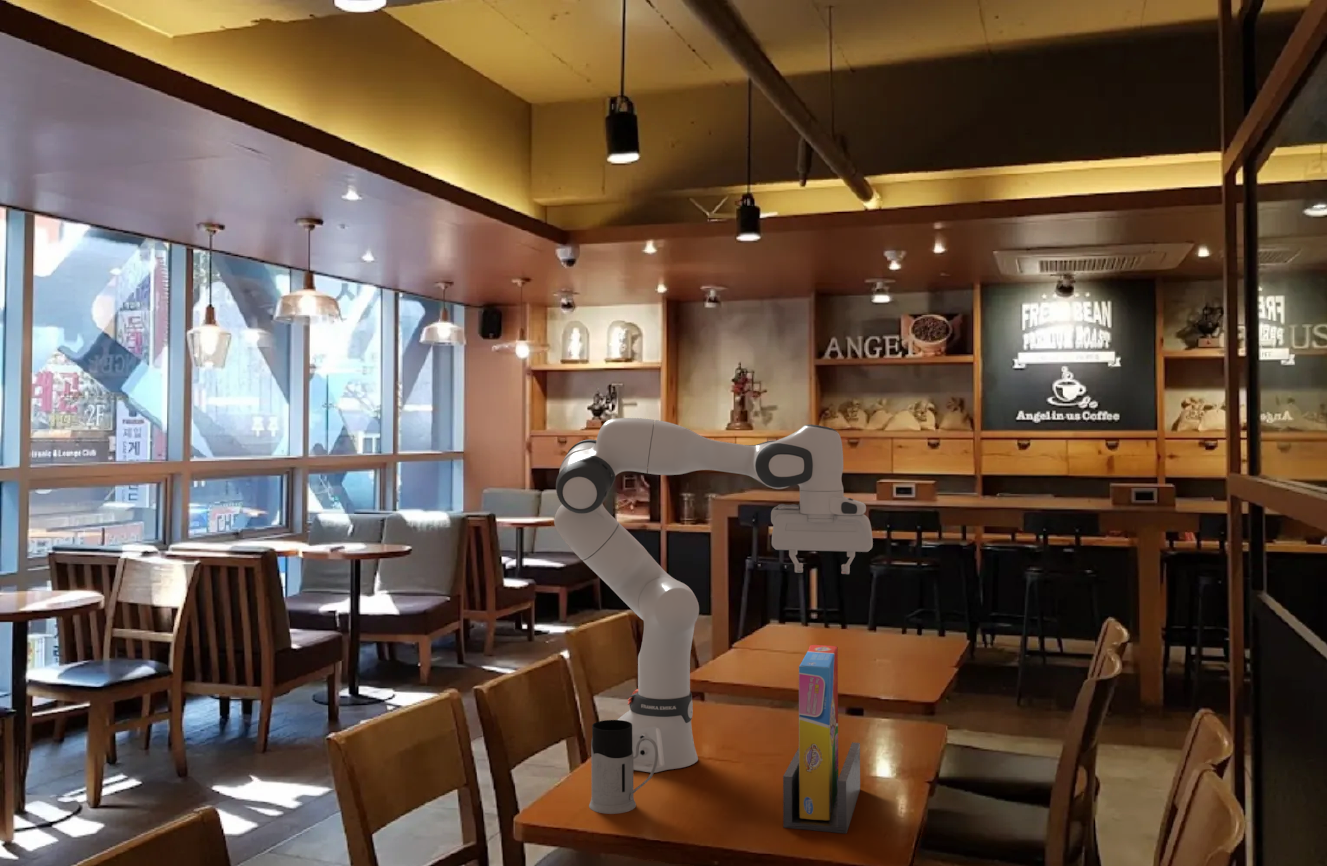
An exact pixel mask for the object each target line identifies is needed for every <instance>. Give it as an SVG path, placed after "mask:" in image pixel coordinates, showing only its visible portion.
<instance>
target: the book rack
mask: <svg viewBox="0 0 1327 866" xmlns="http://www.w3.org/2000/svg"><path fill="white" fill-rule="evenodd" d="M782 778H783V779H782V783H783V784H782V795H783V796H782V797H783V801H782V805H783V806H782V809H783V811H782V813H783V816H782V817H783V818H782V819H783V821H782V822H783V825H782V826H783V828H784V829H785V828H786V829H797V830H805V831H815V832H816V831H817V832H826V833H837V834H847V833H848V830H849V827H850V824H851V821H852V817H853V815H854V811H855V808H856V803H857V801H858V798H859V795H860V791H861V743H860V742H851V745H850V748H849V750H848V752H847V755H846V757H845V760H844V763H843V766H842V767H841V771H840V773H839V775H838V789H837V793H836V797H835V801H834V805H833V809H832V813H831V817H830V820H827V821H825V820H811V819H801V818H800V816H799V747H798V749H797V750H796V752H795V753H794V755H793V757H792V760H790V762H789V765H788V766H787V768H786V770H785V772H784V774H783V776H782Z"/></svg>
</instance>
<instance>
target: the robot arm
mask: <svg viewBox="0 0 1327 866" xmlns="http://www.w3.org/2000/svg"><path fill="white" fill-rule="evenodd" d="M843 450H844V449H843V441H842V438H841V435H840V434H839V432H838V431H837V430H836V429H834V428H833V427H829V426H824V425H819V424H809V423H808V424H805V425H803V426H801V428H799V429H797V430H796V431H795V432H793V433H791V434H789V435H786V436H784V437H782V438H780V439H778V440H777V439H776V440H767V441H764V442H761V443H758V444H741V443H740V444H739V443H735V442H734V443H732V442H726V441H720V440H715V439H710V438H707V437H704V436H703V435H700V434H698V433H697V432H695V431H693V430H691V429H689V428H687V427H685V426H682V425H679V424H675V423H673V422H669V421H663V420H658V419H651V418H641V417H640V418H639V417H618V418H610V419H608V420H606V421H605V422H604V423H603V425H602V426H601V427H600V429H599V431H598V433H597V437H596V439H589V438H588V439H585V440H580V441H579V442H577V443H575V444H574V445H573V446H572V447H571V448H570V449H568V452H567V453H566V455H565V457H564V458H563V460H562V462H561V464H560V467H559V470H558V471H559V473H558V475H557V478H556V482H555V490H556V496H557V499H558V501H559V502H560V503H561V504H560V506H559V507H558V508H557V510H556V513H555V514H554V519H553V524H554V527H555V529H556V532H557V533H558V534H559V535H560V537H561V538H562V540H563V541H564V542H565V544H566V545H567V546H568V547H569V548H570V550H571V551H573V553H574V554H575V555H576V556H577V557H578V558H579V559H580V560H581V561H582V562H583V563H584V564H585V565H586V566H587V567H588V568H589V569H590V570H592V572H594V573H595V574H596V575H597V577H598V578H600V579H601V580H602V581H603V582H604V583H605V584H606V585H607V586H608V587H609V588H610V589H611V590H612V591H613V592H614V594H616V595H617V596H618V597H619V599H621V600H622V601H623V603H625V604H626V605H627V607H629V608H630V610H632V611H633V613H634V614H635V615H637V617H639V619H641V620H642V621H643V631H642V632H643V634H642V641H641V647H640V651H639V653H638V656H637V664H638V665H637V686H638V687H637V688H636V689H635V690H634V691H633V692H632V694H631V695H630V696H629V698H628V699H627V701H628V702H627V705H628V706H629V710H628V711H626V712H625V713H624V714H622V715H621V716H620V717H619V718H618V719H616V720H623V721H627V722H630V723H631V724H632V750H633V757H635V755H636V745H637V743H638V741H639V740H640V739H641V738H643V737H648V738H651V739H653V740H654V742H655V743H656V745H657V748H658V761H657V766H656V769H655V771H654V773H660V772H663V771H667V770H674V769H675V770H676V769H682V768H686V767H689V766H691V765H694V764H695V763H697V762H698V760H699V757H698V753H697V750H696V747H695V743H694V736H693V730H692V729H693V728H692V719H693V714H694V713H693V709H694V708H693V707H694V706H693V703H694V702H693V695H692V694H693V693H692V692H691V689H690V688H691V679H690V678H691V677H690V676H691V673H690V672H691V669H690V668H691V664H690V663H691V652H692V651H691V650H692V644H693V638H694V632H695V626H696V623H697V620H698V617H699V614H700V605H699V602H698V598H697V597H696V595H695V593H694V592H693V590H692V589H691V588H690V587H689V586H688V585H687V584H685V583H684V582H681V580H677V579H675V578H674V577H673V576H671V575H670V574H669V573H667V571H665V569H663V567H661V565H660V564H659V563H658V562H657V560H655V559H654V557H653V556H652V555H651V554H650V552H648V551H647V549H646V548H645V547H644V546H643V545H642V543H640V542H639V541H638V540H637V539H636V538H635V537H634V536H633V535H632V534H631V532H629V531H628V530H627V529H626V528H625V527H624V526H623V525H622V524H621V523H620V522H619V521H618V520H617V519H616V518H615V517H614V516H612V514H611V513H610V512H609V511H608V510H607V509H606V507H605V506H604V504H603V503H604V502H606V499H607V498H608V496H609V494H610V491H611V489H612V487H613V485H614V483H615V481H616V476H617V475H618V474H620V473H623V472H636V473H642V474H643V473H644V474H649V475H650V474H651V475H655V476H657V475H660V476H674V475H676V476H677V475H683V474H684V475H685V474H688V473H692V472H696V471H716V472H724V473H730V474H736V475H737V474H739V475H744V476H747V477H749V478H752V479H753V480H754V481H756V482H758V483H759V484H761V485H763V486H765V487H768V488H770V489H771V488H772V489H776V490H783V489H786V488H789V487H792V486H798V487H799V503H798V504H794V503H793V504H784V503H781V504H778V505H777V506H774V507H773V508H772V510H771V512H770V522H771V524H772V525H773V527H772V534H771V546H772V548H774V549H775V550H777V551H788V556H789V558H790V559H791V561H792V563H793V565H794V573H796V574H797V573H804V568H803V567H804V563H802V562H799V560H798V558H797V555H798V551H811V552H812V551H815V552H816V551H817V552H818V551H819V552H846V557H847V558H849V559H848V560H847V562H846V563H843V564H841V565H840V566H841V574H842V575H850V572H851V571H850V568H851V566H850V565H851V564H852V562H853V560H854V558H855V557H856V552H858V553H861V552H862V553H868V552H869V551H870V550H872V549H873V546H874V545H873V544H874V542H873V541H874V540H873V539H874V538H873V531H872V525H871V521H870V519H869V517H868V516H867V515H865V513H866V511H867V506H866V503H864V502H862V501H860V500H856V499H853V498H851V497H846V496H844V495H845V494H844V485H843V482H842V476H843V471H844V452H843ZM654 761H655V748H654V746H653V744H652V743H651V742H650V741H649V740H646V739H644V740H642V741H641V743H640V745H639V755H638V757H637V758H635V759H633V771H638V772H646V773H651V771H652V769H653V766H654Z"/></svg>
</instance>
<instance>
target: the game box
mask: <svg viewBox="0 0 1327 866" xmlns="http://www.w3.org/2000/svg"><path fill="white" fill-rule="evenodd" d="M838 650H839V649H838V646H837V645H824V644H823V645H822V644H820V645H819V644H810V645H809V648H808V649H807V650H806V651H807V652H806V653H805V655H804V656H803V659H802V661H801V663H800V664H799V666H798V748H799V816H800V818H801V819H811V820H825V821H827V820H830V817H831V813H832V809H833V805H834V801H835V797H836V793H837V789H838V778H839V691H838V690H839V689H838V688H839V686H838V685H839V683H838V682H839V671H838V670H839V668H838V667H839V664H838V663H839V662H838V661H839V658H838V657H839V655H838V654H839V653H838V652H839V651H838Z"/></svg>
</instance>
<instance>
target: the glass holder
mask: <svg viewBox="0 0 1327 866" xmlns="http://www.w3.org/2000/svg"><path fill="white" fill-rule="evenodd" d="M591 730H592V731H591V732H592V733H591V734H592V737H591V741H590V745H591V748H590V749H591V750H590V751H591V798H590V801H589V805H588V807H589V809H590V810H592V811H593V812H595V813H600V814H604V815H605V814H606V815H607V814H609V815H614V814H615V815H616V814H624V813H627V812H630V811H633V810H634V809H635V808H636V806H637V804H636V801H635V797H634V794H635V793H636V792H637V791H638V790H639V789H641V788H642V787H643V786H645V784H647V783H648V781H650V780H651V779H652V777H653V775H654V771H655V769H656V766H657V761H658V748H657V745H656V743H655V742H654V740H653V739H651V738H648V737H643V738H641V739H640V740H639V741H638V743H637V745H636V755H635V757H633V750H632V724H631V723H630V722H627V721H623V720H617V719H606V720H600V721H597V722H594V723H593V724H592V725H591ZM644 739H646V740H649V741H650V742H651V743H652V744H653V746H654V748H655V761H654V766H653V769H652V771H651V772H649V773H650V774H649V775H648V776H647V778H646V779H645V780H644V781H643V782H642V783H641V784H639V785H638V786H637V787H635V789H634V770H633V759H635V758H637V757H638V755H639V745H640V743H641V741H642V740H644Z"/></svg>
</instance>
